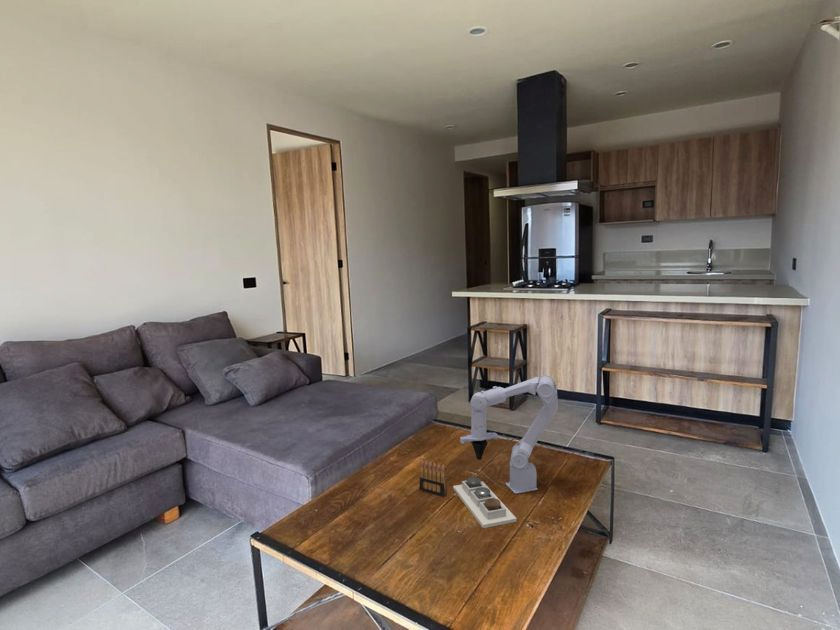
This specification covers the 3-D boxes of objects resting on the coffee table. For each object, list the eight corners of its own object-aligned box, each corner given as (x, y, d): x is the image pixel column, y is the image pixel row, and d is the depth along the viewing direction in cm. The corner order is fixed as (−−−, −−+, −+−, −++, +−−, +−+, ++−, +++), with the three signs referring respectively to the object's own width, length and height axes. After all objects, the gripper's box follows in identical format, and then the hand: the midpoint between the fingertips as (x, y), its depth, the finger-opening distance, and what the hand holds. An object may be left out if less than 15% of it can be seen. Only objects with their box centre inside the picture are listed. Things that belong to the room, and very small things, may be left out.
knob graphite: (477, 485, 176) (477, 476, 175) (483, 492, 171) (483, 482, 170) (464, 487, 174) (464, 478, 174) (469, 494, 169) (469, 484, 169)
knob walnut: (496, 507, 160) (496, 497, 160) (503, 515, 155) (503, 504, 155) (482, 509, 159) (482, 499, 158) (488, 517, 154) (488, 507, 153)
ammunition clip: (419, 490, 176) (418, 459, 174) (421, 488, 177) (421, 457, 176) (444, 497, 170) (444, 465, 169) (446, 494, 172) (446, 463, 170)
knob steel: (486, 495, 168) (486, 486, 167) (492, 503, 163) (492, 493, 163) (472, 498, 166) (472, 488, 166) (478, 505, 162) (478, 495, 161)
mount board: (482, 484, 179) (482, 474, 179) (516, 521, 154) (516, 511, 153) (453, 488, 176) (453, 479, 176) (482, 528, 150) (482, 517, 150)
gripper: (491, 418, 183) (491, 451, 185) (457, 423, 179) (457, 457, 181) (499, 424, 176) (499, 459, 178) (464, 429, 172) (464, 464, 174)
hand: (478, 458), depth 179 cm, fingers closed
